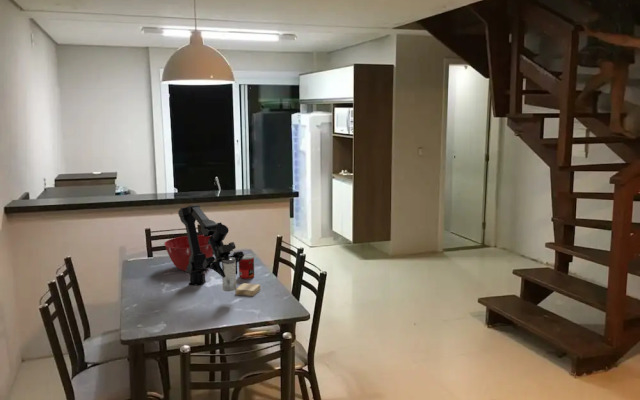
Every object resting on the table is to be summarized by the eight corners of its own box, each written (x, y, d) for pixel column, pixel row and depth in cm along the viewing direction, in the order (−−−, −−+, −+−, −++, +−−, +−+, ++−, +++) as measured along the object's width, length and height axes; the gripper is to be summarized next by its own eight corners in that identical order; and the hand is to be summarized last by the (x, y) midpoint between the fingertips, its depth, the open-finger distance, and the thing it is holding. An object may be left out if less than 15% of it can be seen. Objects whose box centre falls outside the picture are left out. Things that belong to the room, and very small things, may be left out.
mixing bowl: (164, 277, 272) (162, 248, 269) (167, 262, 299) (165, 236, 296) (219, 273, 278) (218, 245, 276) (217, 259, 305) (215, 233, 303)
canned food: (251, 279, 267) (251, 258, 265) (237, 278, 269) (236, 258, 267) (256, 274, 275) (255, 254, 273) (242, 274, 276) (241, 254, 274)
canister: (220, 290, 232) (219, 260, 230) (226, 286, 238) (225, 256, 236) (232, 292, 231) (232, 261, 228) (238, 287, 237) (237, 257, 234)
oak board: (235, 294, 245) (235, 289, 245) (243, 288, 254) (243, 283, 253) (253, 295, 243) (253, 290, 242) (260, 289, 251) (260, 284, 251)
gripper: (204, 240, 228) (217, 270, 221) (241, 233, 239) (254, 262, 233) (197, 253, 235) (209, 283, 229) (233, 247, 247) (246, 275, 240)
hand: (230, 275), depth 232 cm, fingers closed on canister, 6 cm apart
